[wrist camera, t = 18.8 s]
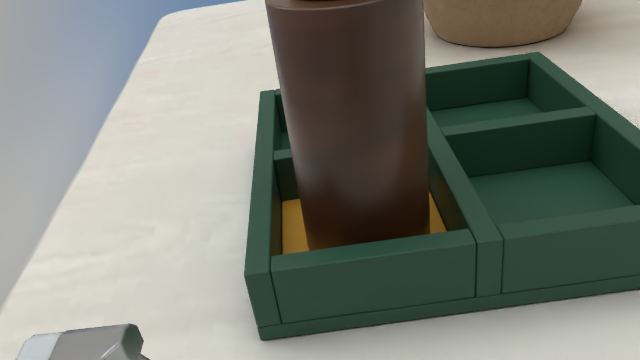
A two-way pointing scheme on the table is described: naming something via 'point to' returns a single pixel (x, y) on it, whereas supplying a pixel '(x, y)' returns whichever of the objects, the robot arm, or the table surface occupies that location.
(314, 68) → the brown lidded canister
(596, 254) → the grid
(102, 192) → the table surface
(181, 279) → the table surface
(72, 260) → the table surface
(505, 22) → the vase
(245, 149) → the table surface
